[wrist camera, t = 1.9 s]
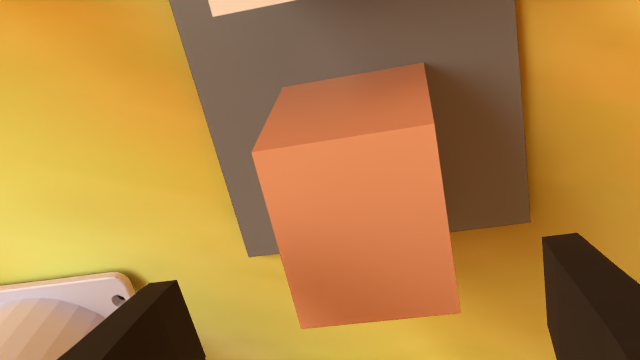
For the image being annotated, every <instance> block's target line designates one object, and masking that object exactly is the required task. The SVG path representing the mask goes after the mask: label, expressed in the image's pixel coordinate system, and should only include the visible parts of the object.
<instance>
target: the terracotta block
mask: <svg viewBox="0 0 640 360" xmlns="http://www.w3.org/2000/svg"><path fill="white" fill-rule="evenodd" d="M251 153H252V157H253V160H254V164H255V167H256V171H257V174H258V178H259V181H260V185H261V189H262V192H263V196H264V199H265V203H266V206H267V210H268V213H269V217H270V220H271V224H272V227H273V231H274V234H275V238H276V241H277V245H278V248H279V252H280V255H281V259H282V263H283V266H284V270H285V273H286V277H287V280H288V284H289V287H290V291H291V294H292V298H293V301H294V305H295V308H296V312H297V315H298V319H299V322H300V326H301V329H307V328H317V327H327V326H337V325H347V324H357V323H367V322H377V321H387V320H397V319H406V318H416V317H426V316H436V315H446V314H456V313H461V311H460V304H459V297H458V290H457V283H456V275H455V268H454V261H453V254H452V247H451V240H450V232H449V225H448V218H447V211H446V204H445V197H444V189H443V182H442V175H441V168H440V161H439V153H438V146H437V139H436V132H435V125H434V119H433V113H432V108H431V102H430V96H429V90H428V85H427V79H426V73H425V68H424V63H419V64H413V65H407V66H401V67H396V68H390V69H384V70H379V71H373V72H367V73H362V74H356V75H350V76H344V77H339V78H333V79H327V80H322V81H316V82H310V83H305V84H299V85H293V86H287V87H283V88H282V90H281V92H280V94H279V96H278V98H277V100H276V102H275V104H274V106H273V108H272V111H271V113H270V115H269V117H268V119H267V121H266V123H265V125H264V127H263V129H262V131H261V133H260V135H259V137H258V140H257V142H256V144H255V146H254V148H253V150H252V152H251Z"/></svg>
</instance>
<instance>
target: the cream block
mask: <svg viewBox="0 0 640 360" xmlns="http://www.w3.org/2000/svg"><path fill="white" fill-rule="evenodd" d="M289 1H294V0H208V2H209V5H210V9H211V12H212V16H213V17H215V16H220V15H225V14H230V13H235V12H240V11H245V10H250V9H255V8H260V7H265V6H270V5H274V4H279V3H284V2H289Z"/></svg>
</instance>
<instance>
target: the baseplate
mask: <svg viewBox="0 0 640 360" xmlns="http://www.w3.org/2000/svg"><path fill="white" fill-rule="evenodd" d="M169 2H170V5H171V9H172V12H173V15H174V18H175V21H176V25H177V28H178V31H179V34H180V37H181V41H182V44H183V47H184V50H185V54H186V57H187V60H188V63H189V66H190V70H191V73H192V76H193V79H194V83H195V86H196V89H197V92H198V95H199V99H200V102H201V105H202V108H203V111H204V115H205V118H206V121H207V124H208V128H209V131H210V134H211V137H212V140H213V144H214V147H215V150H216V153H217V157H218V160H219V163H220V166H221V169H222V173H223V176H224V179H225V182H226V185H227V189H228V192H229V195H230V198H231V202H232V205H233V208H234V211H235V214H236V218H237V221H238V224H239V227H240V231H241V234H242V237H243V240H244V243H245V247H246V250H247V253H248V256H249V257H255V256H263V255H271V254H279V253H280V252H279V248H278V245H277V241H276V238H275V234H274V231H273V227H272V224H271V220H270V217H269V213H268V210H267V206H266V203H265V199H264V196H263V192H262V189H261V185H260V181H259V178H258V174H257V171H256V167H255V164H254V160H253V157H252V153H251V152H252V150H253V148H254V146H255V144H256V142H257V140H258V137H259V135H260V133H261V131H262V129H263V127H264V125H265V123H266V121H267V119H268V117H269V115H270V113H271V111H272V108H273V106H274V104H275V102H276V100H277V98H278V96H279V94H280V92H281V90H282V88H283V87H287V86H293V85H299V84H305V83H310V82H316V81H322V80H327V79H333V78H339V77H344V76H350V75H356V74H362V73H367V72H373V71H379V70H384V69H390V68H396V67H401V66H407V65H413V64H419V63H424V68H425V73H426V79H427V85H428V90H429V96H430V102H431V108H432V113H433V119H434V125H435V132H436V139H437V146H438V153H439V161H440V168H441V175H442V182H443V189H444V197H445V204H446V211H447V218H448V225H449V232H456V231H464V230H472V229H480V228H488V227H496V226H504V225H512V224H520V223H528V222H531V220H530V206H529V192H528V178H527V164H526V150H525V136H524V122H523V108H522V94H521V80H520V67H519V53H518V39H517V25H516V11H515V0H294V1H289V2H284V3H279V4H274V5H270V6H265V7H260V8H255V9H250V10H245V11H240V12H235V13H230V14H225V15H220V16H215V17H213V16H212V12H211V9H210V5H209V2H208V0H169Z"/></svg>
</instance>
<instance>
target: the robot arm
mask: <svg viewBox="0 0 640 360" xmlns="http://www.w3.org/2000/svg"><path fill="white" fill-rule="evenodd" d="M542 246H543V262H544V277H545V293H546V309H547V325H548V328H549V332H550V336H551V340H552V343H553V347H554V351H555V355H556V358H557V360H640V284H639V283H637V282H636V281H635V280H634V279H632V278H631V277H630V276H629V275H627V274H626V273H625V272H624V271H622V270H621V269H620V268H619V267H617V266H616V265H615V264H614V263H613V262H611V261H610V260H609V259H608V258H607V257H605V256H604V255H603V254H602V253H601V252H600V251H598V250H597V249H596V248H595V247H594V246H592V245H591V244H590V243H589V242H588V241H587V240H585V239H584V238H583V237H582V236H580V235H579V234H578V233H572V234H564V235H555V236H547V237H542ZM117 295H120V296H122V297H124V298H125V300H122V299H120V298H118V296H117ZM205 357H206V356H205V353H204V351H203V348H202V345H201V343H200V340H199V337H198V335H197V332H196V329H195V327H194V324H193V322H192V319H191V316H190V314H189V311H188V308H187V306H186V303H185V301H184V298H183V295H182V293H181V290H180V287H179V285H178V282H177V280H173V281H165V282H156V283H149V284H148V285H146V286H145V287H144V288H142V289H141V290H139V291H138V292H137V293H135V291H134V288H133V286H132V284H131V281H130V280H129V278H128V277H127V276H125V275H124V274H122V273H119V272H108V273H100V274H92V275H84V276H76V277H68V278H60V279H52V280H44V281H36V282H28V283H20V284H12V285H4V286H0V360H205Z"/></svg>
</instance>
